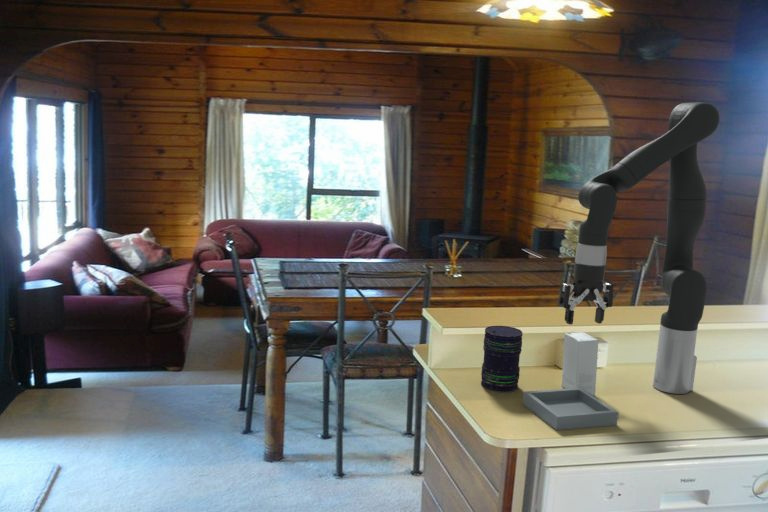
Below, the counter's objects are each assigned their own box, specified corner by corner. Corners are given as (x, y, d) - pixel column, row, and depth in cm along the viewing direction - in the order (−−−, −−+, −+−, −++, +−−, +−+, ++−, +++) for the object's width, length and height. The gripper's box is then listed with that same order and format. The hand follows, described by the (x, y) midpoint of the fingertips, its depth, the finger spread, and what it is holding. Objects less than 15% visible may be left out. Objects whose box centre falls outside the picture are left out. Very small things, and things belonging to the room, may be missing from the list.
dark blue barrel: (507, 378, 201) (511, 324, 198) (525, 391, 192) (530, 335, 189) (474, 380, 198) (478, 326, 195) (490, 393, 189) (495, 337, 186)
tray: (579, 399, 188) (580, 387, 187) (616, 424, 173) (618, 411, 172) (522, 403, 183) (523, 391, 182) (556, 430, 168) (557, 416, 167)
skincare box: (595, 396, 191) (601, 340, 188) (573, 397, 189) (579, 340, 187) (579, 384, 199) (585, 331, 196) (559, 385, 197) (564, 331, 195)
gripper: (606, 258, 194) (599, 318, 196) (557, 258, 189) (551, 320, 192) (623, 264, 187) (616, 326, 189) (573, 264, 182) (567, 328, 185)
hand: (583, 323), depth 191 cm, fingers open, 8 cm apart
